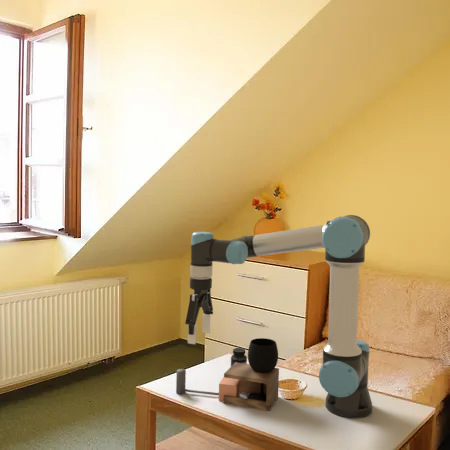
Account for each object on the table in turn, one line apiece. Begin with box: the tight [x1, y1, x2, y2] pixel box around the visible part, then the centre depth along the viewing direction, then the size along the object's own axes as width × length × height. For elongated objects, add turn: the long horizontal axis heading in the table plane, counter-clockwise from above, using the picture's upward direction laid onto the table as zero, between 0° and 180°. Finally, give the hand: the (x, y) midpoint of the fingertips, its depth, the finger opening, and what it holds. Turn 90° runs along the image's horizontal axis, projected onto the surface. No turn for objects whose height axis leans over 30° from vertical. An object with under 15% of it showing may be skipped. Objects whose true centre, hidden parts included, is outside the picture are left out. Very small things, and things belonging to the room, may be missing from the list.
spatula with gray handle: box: [175, 368, 241, 402], centre depth 182 cm, size 22×6×8 cm, turn 77°
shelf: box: [222, 362, 280, 412], centre depth 179 cm, size 16×12×10 cm
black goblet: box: [246, 337, 279, 403], centre depth 180 cm, size 10×10×20 cm
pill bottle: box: [230, 347, 248, 367], centre depth 199 cm, size 6×6×11 cm
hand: (199, 337), depth 181 cm, fingers open, 13 cm apart
